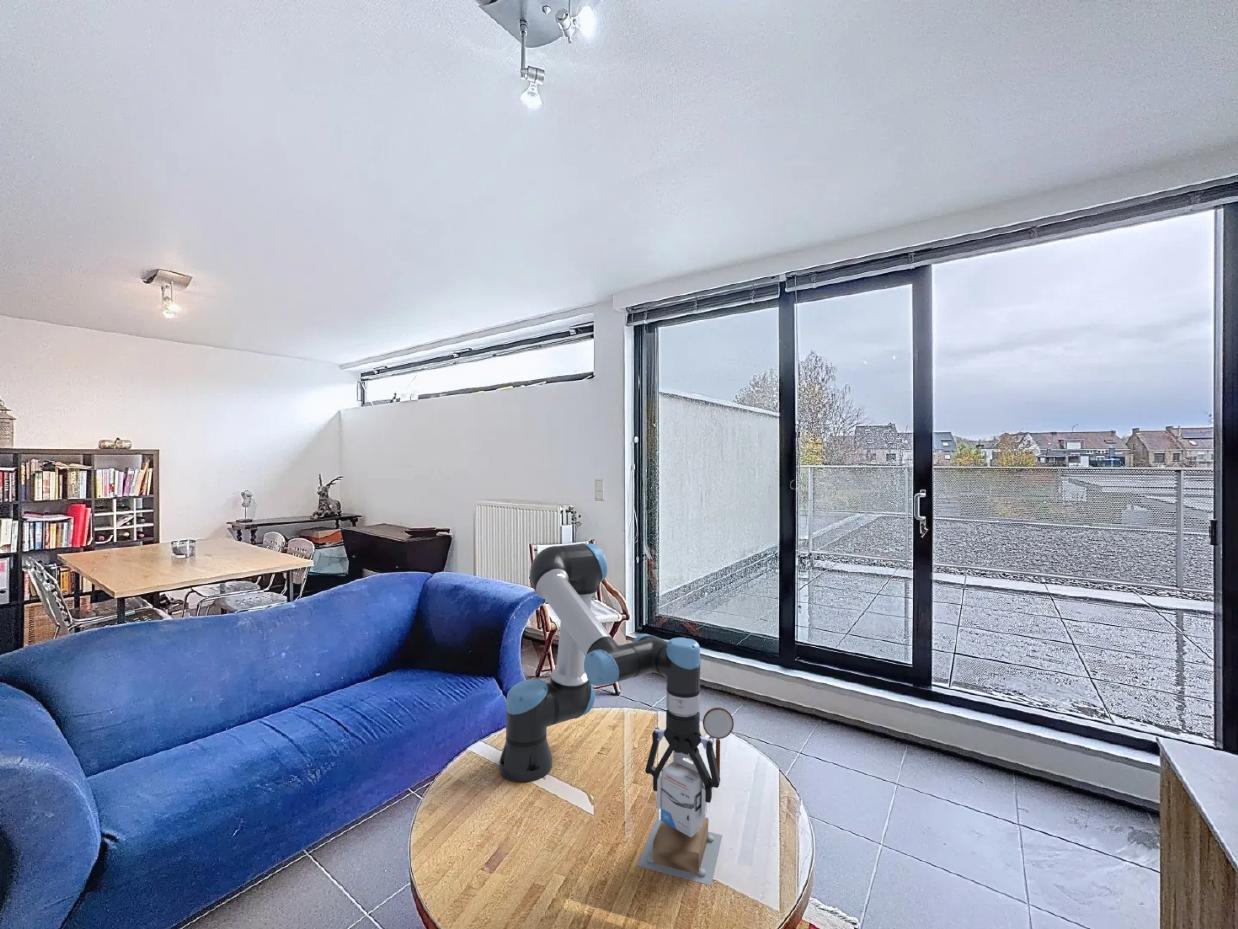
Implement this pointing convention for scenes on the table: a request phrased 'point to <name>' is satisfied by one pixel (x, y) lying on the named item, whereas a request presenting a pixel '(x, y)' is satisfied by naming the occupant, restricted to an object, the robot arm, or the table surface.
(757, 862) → the table surface
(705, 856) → the plate
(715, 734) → the magnifying glass
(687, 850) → the base brick
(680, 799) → the ink box
